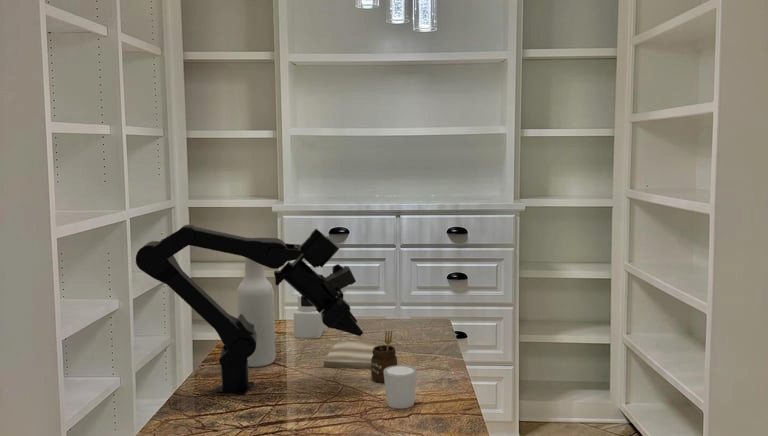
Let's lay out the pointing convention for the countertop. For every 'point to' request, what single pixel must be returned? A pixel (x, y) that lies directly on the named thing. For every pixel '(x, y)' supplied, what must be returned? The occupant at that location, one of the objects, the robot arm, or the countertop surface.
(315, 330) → the medicine bottle
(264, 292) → the alcohol
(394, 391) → the white cup
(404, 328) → the countertop surface
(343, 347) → the ash cloth
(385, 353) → the utensil holder
